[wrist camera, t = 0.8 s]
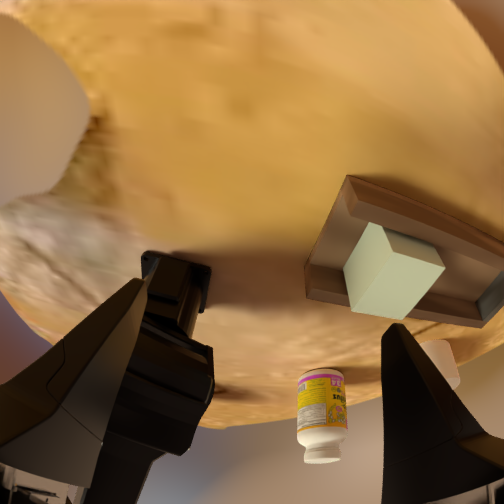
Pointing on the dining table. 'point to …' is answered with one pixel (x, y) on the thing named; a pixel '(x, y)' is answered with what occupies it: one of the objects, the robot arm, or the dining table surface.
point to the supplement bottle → (321, 415)
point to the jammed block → (390, 272)
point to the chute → (422, 227)
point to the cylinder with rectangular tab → (443, 360)
